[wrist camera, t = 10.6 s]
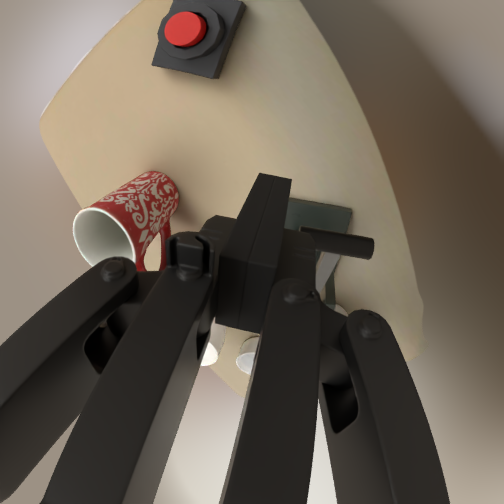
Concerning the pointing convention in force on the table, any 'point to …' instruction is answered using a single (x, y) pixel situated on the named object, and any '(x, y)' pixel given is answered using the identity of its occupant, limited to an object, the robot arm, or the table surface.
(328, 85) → the table surface
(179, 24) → the button
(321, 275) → the switch lever
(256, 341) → the ramekin
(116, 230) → the mug
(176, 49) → the switch block
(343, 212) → the lever bracket
